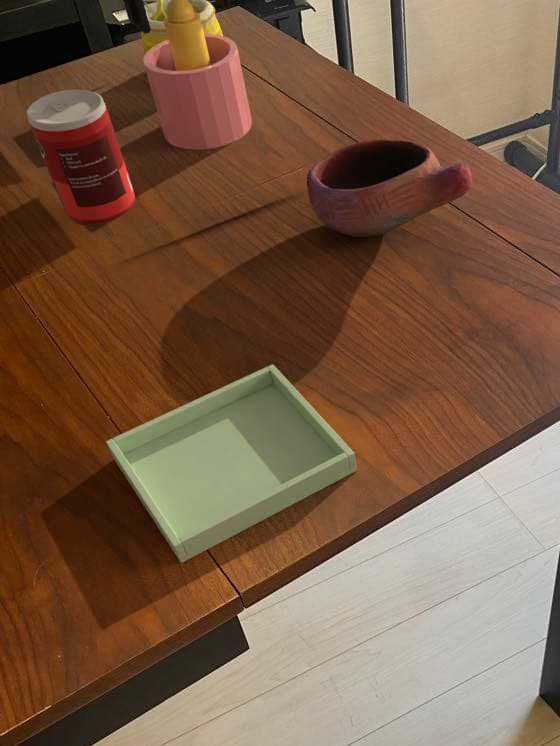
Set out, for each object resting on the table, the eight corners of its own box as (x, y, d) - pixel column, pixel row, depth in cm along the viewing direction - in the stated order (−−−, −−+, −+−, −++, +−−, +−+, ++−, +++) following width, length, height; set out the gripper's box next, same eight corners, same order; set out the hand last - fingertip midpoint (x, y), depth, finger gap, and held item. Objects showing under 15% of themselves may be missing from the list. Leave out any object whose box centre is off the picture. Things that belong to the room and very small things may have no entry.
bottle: (200, 138, 100) (167, 8, 89) (186, 126, 102) (152, -2, 91) (230, 128, 101) (201, -2, 90) (215, 116, 103) (185, -12, 92)
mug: (249, 71, 112) (229, -33, 102) (183, 102, 107) (156, -4, 98) (191, 48, 118) (167, -52, 108) (126, 76, 113) (96, -26, 104)
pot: (188, 163, 97) (166, 82, 90) (151, 130, 103) (128, 51, 96) (268, 134, 101) (253, 54, 94) (228, 103, 106) (211, 25, 99)
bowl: (312, 265, 83) (299, 189, 77) (315, 197, 91) (303, 123, 85) (473, 253, 83) (474, 175, 77) (462, 185, 91) (462, 110, 85)
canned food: (96, 184, 96) (59, 84, 87) (152, 197, 93) (120, 95, 85) (51, 219, 92) (8, 117, 83) (108, 233, 89) (70, 129, 80)
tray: (181, 563, 61) (173, 546, 59) (113, 458, 68) (105, 441, 66) (357, 470, 66) (354, 452, 64) (277, 381, 73) (272, 363, 71)
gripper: (199, -210, 83) (237, -15, 97) (32, -172, 78) (97, 29, 92) (233, -198, 79) (268, 4, 93) (59, -157, 74) (123, 51, 87)
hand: (183, 16), depth 92 cm, fingers open, 9 cm apart
